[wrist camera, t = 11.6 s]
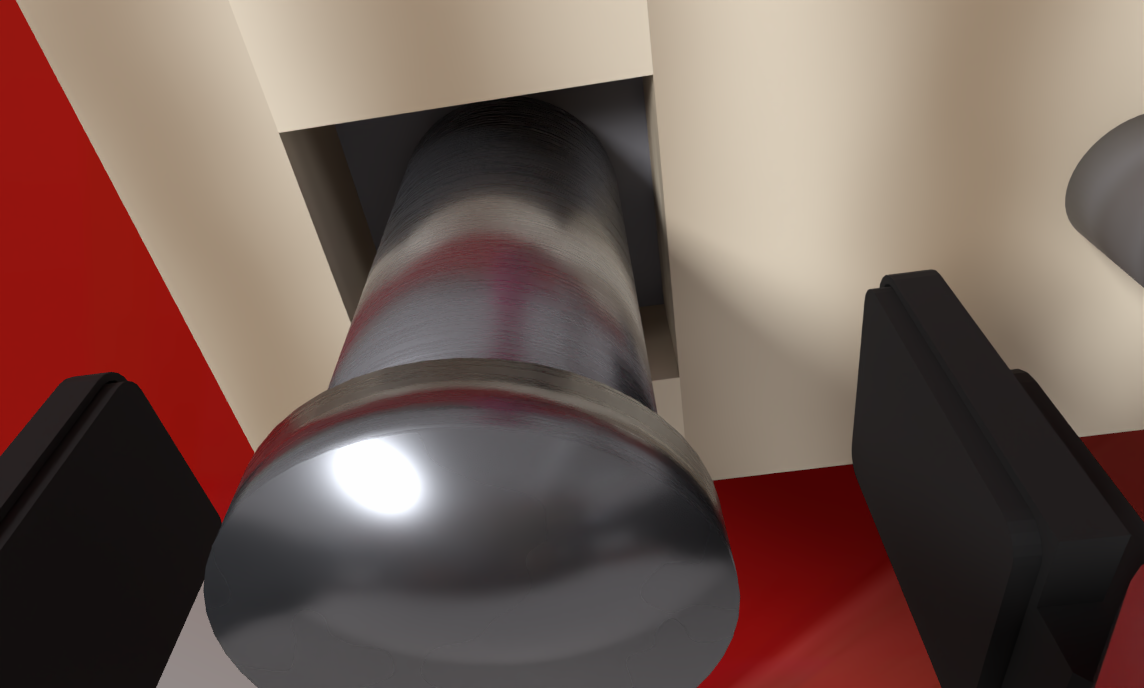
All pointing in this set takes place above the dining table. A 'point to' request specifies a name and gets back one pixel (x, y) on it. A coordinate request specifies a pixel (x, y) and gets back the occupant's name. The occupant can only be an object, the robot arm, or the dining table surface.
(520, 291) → the silver domed cylinder
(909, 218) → the jig
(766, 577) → the dining table surface
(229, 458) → the dining table surface
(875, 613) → the dining table surface
